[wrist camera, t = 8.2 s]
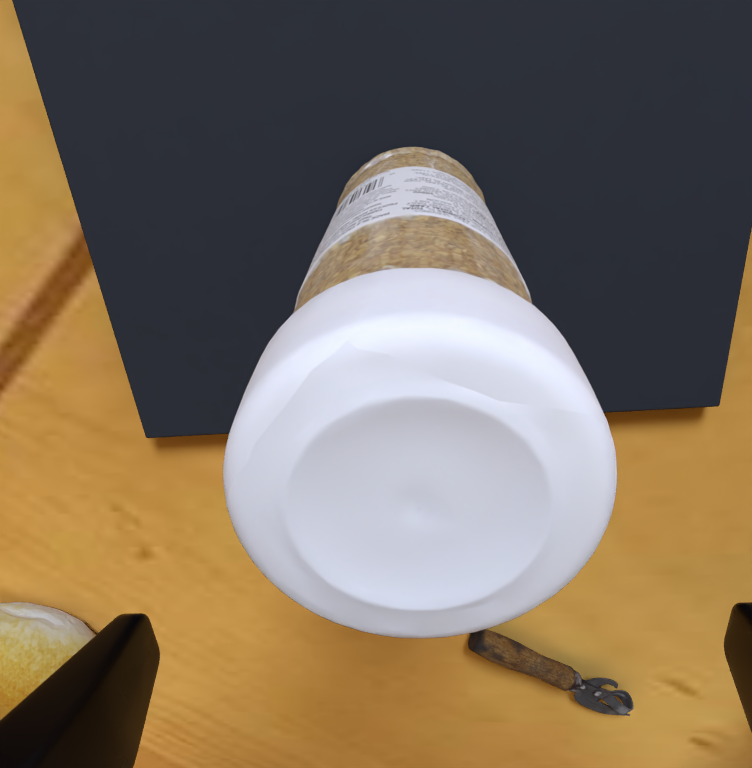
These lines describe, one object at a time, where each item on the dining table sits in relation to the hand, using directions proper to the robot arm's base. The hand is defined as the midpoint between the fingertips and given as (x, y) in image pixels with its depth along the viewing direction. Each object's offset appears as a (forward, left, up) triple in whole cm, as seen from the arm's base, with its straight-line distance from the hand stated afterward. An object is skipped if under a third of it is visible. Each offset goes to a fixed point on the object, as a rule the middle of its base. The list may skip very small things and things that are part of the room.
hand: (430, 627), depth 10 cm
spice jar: (+3, 0, -12) cm, 13 cm away
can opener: (-17, -5, -13) cm, 22 cm away
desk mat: (+3, 0, -13) cm, 13 cm away
